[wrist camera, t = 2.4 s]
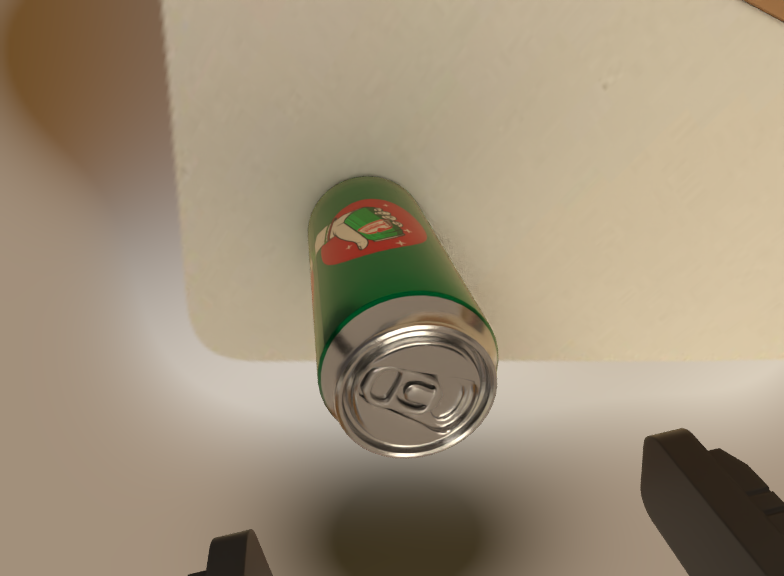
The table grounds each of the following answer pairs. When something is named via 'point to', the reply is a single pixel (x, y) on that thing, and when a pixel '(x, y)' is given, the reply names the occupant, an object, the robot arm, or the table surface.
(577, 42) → the table surface
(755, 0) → the kraft paper
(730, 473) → the robot arm
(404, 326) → the soda can
